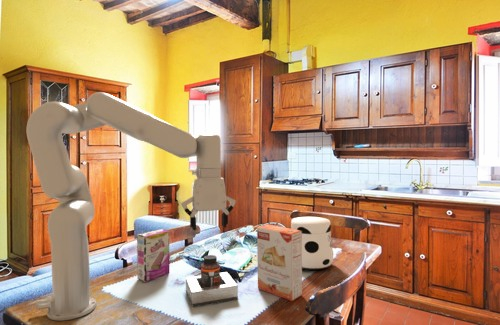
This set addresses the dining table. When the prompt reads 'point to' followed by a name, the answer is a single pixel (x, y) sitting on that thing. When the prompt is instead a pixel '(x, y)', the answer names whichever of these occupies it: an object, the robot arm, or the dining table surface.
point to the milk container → (314, 242)
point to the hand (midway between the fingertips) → (209, 227)
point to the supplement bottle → (210, 272)
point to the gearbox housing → (211, 291)
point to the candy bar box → (152, 255)
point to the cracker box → (280, 261)
